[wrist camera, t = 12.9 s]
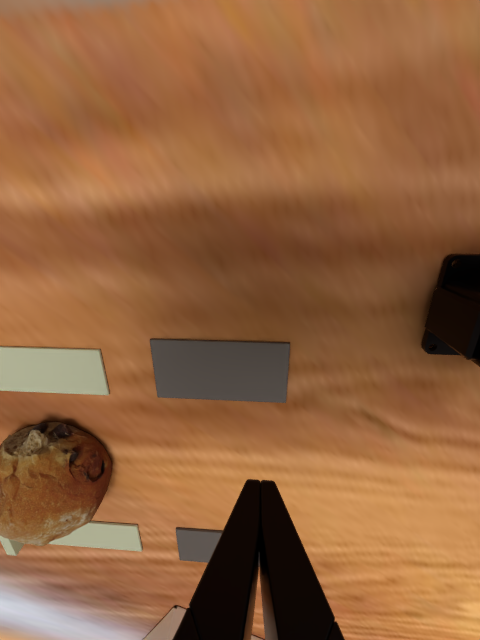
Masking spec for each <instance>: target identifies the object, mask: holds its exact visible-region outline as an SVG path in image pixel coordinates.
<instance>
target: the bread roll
mask: <svg viewBox="0 0 480 640" xmlns="http://www.w3.org/2000/svg"><path fill="white" fill-rule="evenodd" d="M111 471H112V462H111V460H110V458H109V455H108V453H107V452H106V450H105V448H104V447H103V445H102V444H101V443H100V442H99V441H98V440H96V439H95V438H94V437H93V436H92V435H90V434H88V433H86V432H83V431H81V430H79V429H77V428H75V427H74V426H70V425H66V424H63V423H61V422H52V423H48V422H46V423H41V424H39V425H35V426H30V427H26V428H24V429H22V430H20V431H18V432H16V433H14V434H13V435H9V436H8V437H7V438H6V439H5V440H4V441H3V443H2V444H1V445H0V536H2V537H4V538H8V539H10V540H14V541H17V542H20V543H25V544H33V545H37V546H44V545H47V544H48V543H49V542H51V541H53V540H55V539H59V538H62V537H64V536H67V535H69V534H71V533H72V532H73V531H75V530H77V529H78V528H80V527H82V526H84V525H86V524H88V523H89V522H90V520H91V519H92V518H93V516H94V514H95V513H96V511H97V509H98V508H99V506H100V504H101V502H102V500H103V497H104V495H105V493H106V491H107V487H108V484H109V481H110V476H111Z"/></svg>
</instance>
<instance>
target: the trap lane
mask: <svg viewBox="0 0 480 640" xmlns="http://www.w3.org/2000/svg"><path fill="white" fill-rule="evenodd" d="M150 345H151V352H152V359H153V367H154V374H155V381H156V389H157V396H158V397H163V398H186V399H210V400H233V401H256V402H279V403H286V395H287V380H288V366H289V352H290V343H281V342H246V341H211V340H176V339H150ZM0 391H23V392H46V393H70V394H93V395H109V394H110V392H109V388H108V383H107V378H106V373H105V369H104V364H103V359H102V355H101V350H100V349H74V348H43V347H11V346H0ZM222 532H223V531H216V530H203V529H189V528H176V535H177V543H178V550H179V557H180V560H184V561H196V562H208V563H209V560H210V558H211V556H212V554H213V552H214V550H215V547H216V545H217V543H218V541H219V539H220V537H221V534H222ZM0 541H1V543H2V545H3V547H4V549H5V551H6V553H7V555H15V556H16V555H17V554H18V553H19V551H20V550H21V548H22V547H23V546H24V544H25V543H20V542H17V541H14V540H10V539H8V538H4V537H2V536H0ZM48 544H57V545H69V546H82V547H94V548H106V549H119V550H131V551H142V550H143V548H142V543H141V539H140V534H139V529H138V525H136V524H122V523H109V522H96V521H90V522H89V523H88V524H86V525H84V526H82V527H80V528H78V529H77V530H75V531H73V532H72V533H71V534H69V535H67V536H64V537H62V538H59V539H55V540H53V541H51V542H49V543H48Z"/></svg>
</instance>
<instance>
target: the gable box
mask: <svg viewBox="0 0 480 640" xmlns="http://www.w3.org/2000/svg"><path fill="white" fill-rule="evenodd" d="M186 610H187V609H184V608H182V607H179V606H177V607H176V606H175V607H174V608H173V609H172V610H171V611H170V612H169V613H168V614H167V615H166V616H165V617H164V618H163V619H162V620H161V621H160V623H159V624H158V625H157V626H156V627H155V628H154V629H153V630H152V631H151V632H150V633H149V634H148V635H147V636H146V638H145V639H144V640H172V639H173V637H174V635H175V633H176V631H177V629H178V627H179V625H180V623H181V621H182V618H183V616H184V614H185V612H186ZM251 640H264V639H261V638H259V637H256V636H254V635H251Z"/></svg>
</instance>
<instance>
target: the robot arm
mask: <svg viewBox="0 0 480 640" xmlns="http://www.w3.org/2000/svg"><path fill="white" fill-rule="evenodd" d="M454 260H457V263H456V265H454V266H452V262H453V261H454ZM425 327H426V330H425V334H424V338H423V342H422V349H423V350H424V351H425V352H427V353H428V354H441V355H462V356H463V357H464V358H466V359H468V360H472V361H473V362H474V363H476V364H477V365H478V366H480V254H451V255H449V256H447V258H446V259H445V260H444V262H443V266H442V270H441V273H440V277H439V281H438V285H437V288H436V290H435V291H434V293H433V297H432V301H431V305H430V308H429V312H428V316H427V320H426V324H425ZM431 344H434V345H433V347H431V348H429V346H430V345H431ZM259 568H260V583H261V594H262V606H263V618H264V629H265V640H345V639H344V637H343V635H342V632H341V630H340V628H339V626H338V623H337V622H336V621H335V617H334V615H333V612H332V610H331V608H330V606H329V603H328V601H327V599H326V596H325V594H324V592H323V590H322V587H321V585H320V583H319V581H318V578H317V576H316V574H315V572H314V569H313V567H312V565H311V563H310V560H309V558H308V556H307V554H306V551H305V549H304V547H303V544H302V542H301V540H300V538H299V535H298V533H297V531H296V529H295V526H294V524H293V522H292V520H291V517H290V515H289V513H288V511H287V508H286V506H285V504H284V502H283V499H282V497H281V495H280V492H279V490H278V488H277V486H276V484H275V482H274V481H269V480H262V481H261V484H260V481H259V480H252V479H248V480H247V481H246V482H245V485H244V487H243V489H242V491H241V493H240V495H239V498H238V500H237V502H236V504H235V506H234V508H233V511H232V513H231V515H230V517H229V519H228V521H227V524H226V526H225V528H224V530H223V532H222V534H221V537H220V539H219V541H218V543H217V545H216V547H215V550H214V552H213V554H212V556H211V558H210V560H209V563H208V565H207V567H206V569H205V571H204V573H203V576H202V578H201V580H200V582H199V584H198V586H197V588H196V591H195V593H194V595H193V597H192V599H191V601H190V604H189V608H187V610H186V612H185V614H184V616H183V618H182V621H181V623H180V625H179V627H178V629H177V631H176V633H175V635H174V637H173V639H172V640H251V635H252V626H253V617H254V608H255V599H256V590H257V581H258V570H259ZM334 621H335V622H334Z"/></svg>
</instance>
